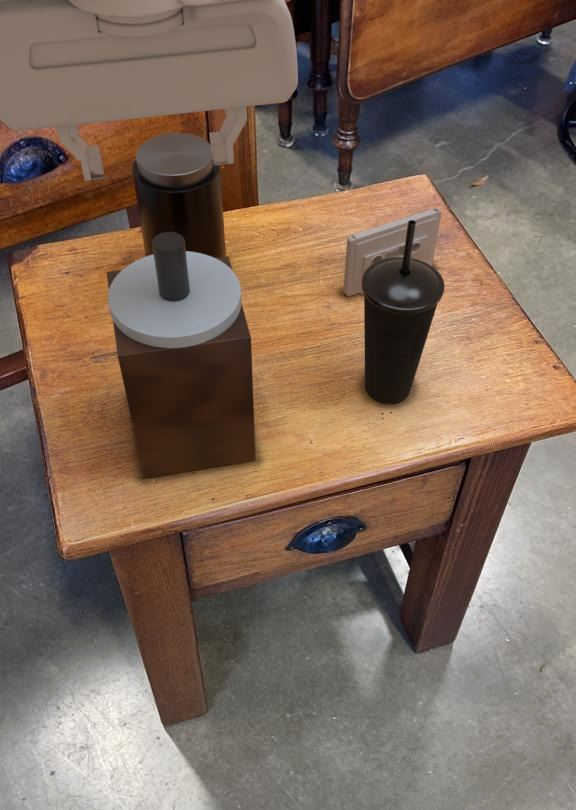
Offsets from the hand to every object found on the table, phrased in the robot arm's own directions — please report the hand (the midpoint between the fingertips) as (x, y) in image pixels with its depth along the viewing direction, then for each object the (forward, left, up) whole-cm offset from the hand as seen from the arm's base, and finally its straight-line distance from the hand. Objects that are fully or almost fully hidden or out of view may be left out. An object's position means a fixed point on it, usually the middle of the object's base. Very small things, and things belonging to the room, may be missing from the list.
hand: (159, 168), depth 61 cm
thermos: (+3, +24, -29) cm, 37 cm away
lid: (0, 0, -13) cm, 13 cm away
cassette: (+26, +18, -29) cm, 43 cm away
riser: (0, 0, -29) cm, 29 cm away
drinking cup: (+21, +1, -29) cm, 36 cm away
